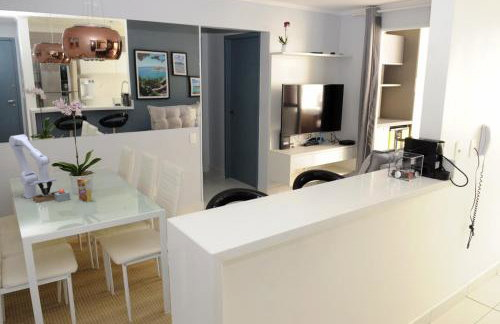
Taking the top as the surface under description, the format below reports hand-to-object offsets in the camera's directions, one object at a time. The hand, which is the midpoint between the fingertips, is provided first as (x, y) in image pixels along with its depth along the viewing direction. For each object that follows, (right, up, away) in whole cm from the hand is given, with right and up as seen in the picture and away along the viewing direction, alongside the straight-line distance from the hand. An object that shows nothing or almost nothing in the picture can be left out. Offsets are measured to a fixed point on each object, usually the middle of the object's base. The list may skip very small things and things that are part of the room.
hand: (45, 192), depth 270 cm
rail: (+1, -4, +2) cm, 5 cm away
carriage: (0, -3, +1) cm, 3 cm away
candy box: (+27, -5, 0) cm, 28 cm away
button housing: (+11, -5, 0) cm, 12 cm away
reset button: (+11, -1, 0) cm, 11 cm away
